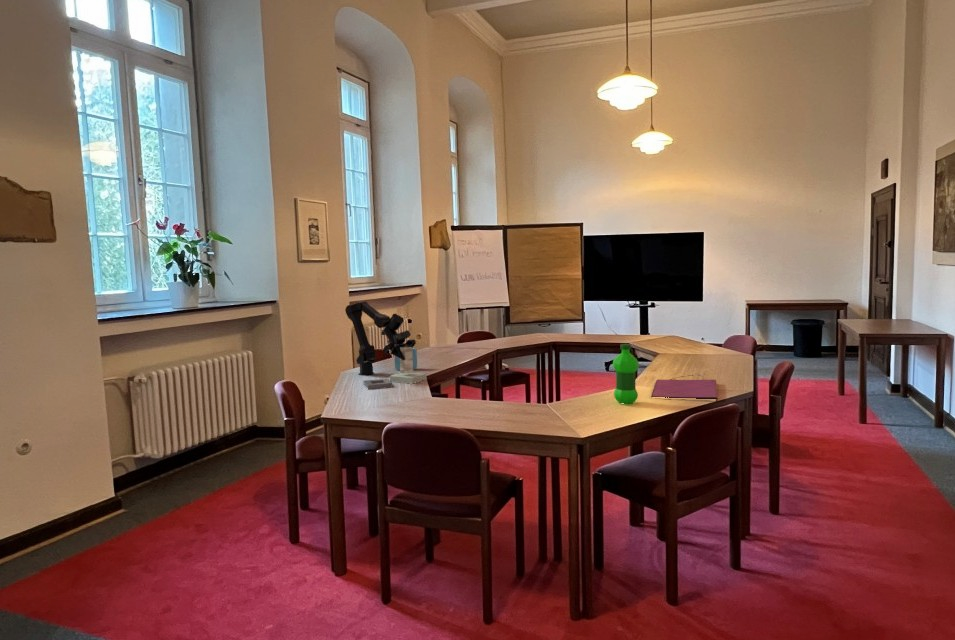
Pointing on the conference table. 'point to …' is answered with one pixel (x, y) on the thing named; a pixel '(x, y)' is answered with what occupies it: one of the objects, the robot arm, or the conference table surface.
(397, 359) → the light blue square slab
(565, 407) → the conference table surface
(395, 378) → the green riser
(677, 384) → the maroon hardcover notebook
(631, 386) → the plastic bottle
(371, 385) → the pocket holder
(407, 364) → the cream block
